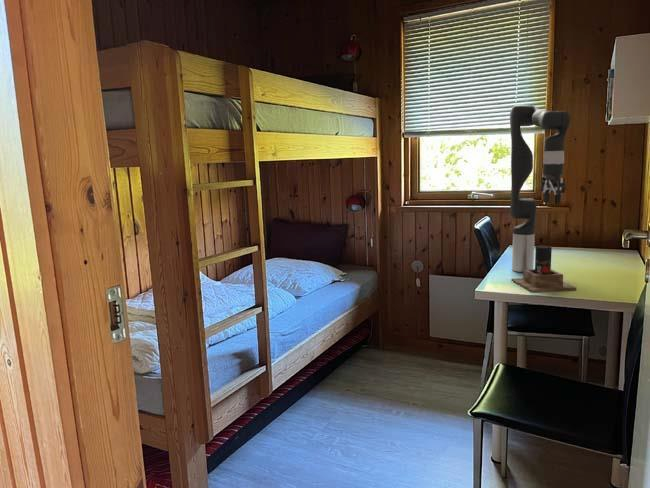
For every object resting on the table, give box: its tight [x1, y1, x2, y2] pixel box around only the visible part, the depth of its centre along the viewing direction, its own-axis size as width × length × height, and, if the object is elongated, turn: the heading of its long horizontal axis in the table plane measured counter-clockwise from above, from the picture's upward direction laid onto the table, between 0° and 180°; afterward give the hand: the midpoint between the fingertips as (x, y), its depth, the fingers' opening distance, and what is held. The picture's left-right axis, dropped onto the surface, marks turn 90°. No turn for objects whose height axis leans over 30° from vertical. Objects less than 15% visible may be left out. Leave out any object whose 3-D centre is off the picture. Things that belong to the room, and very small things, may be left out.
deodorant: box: [534, 245, 553, 275], centre depth 199 cm, size 6×6×15 cm
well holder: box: [511, 268, 577, 293], centre depth 200 cm, size 18×18×6 cm
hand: (551, 203), depth 198 cm, fingers open, 8 cm apart
